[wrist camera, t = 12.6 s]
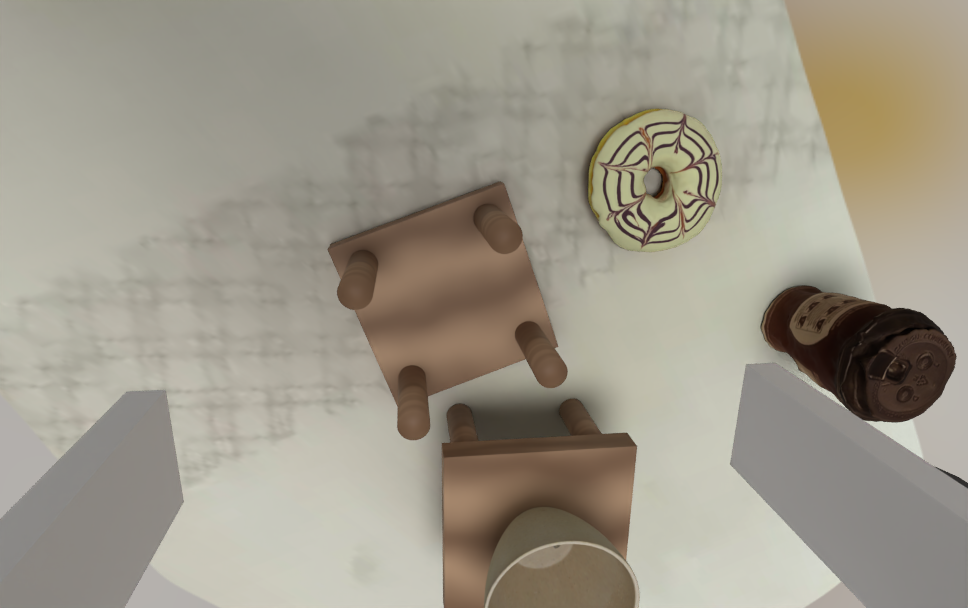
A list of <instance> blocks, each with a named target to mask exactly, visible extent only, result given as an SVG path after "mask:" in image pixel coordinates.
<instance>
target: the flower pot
mask: <svg viewBox="0 0 968 608" xmlns="http://www.w3.org/2000/svg"><path fill="white" fill-rule="evenodd" d="M639 598H640V596H639V587H638V583H637V579H636V577H635V575H634V573H633V571H632V569H631V567H630V566H629V564H628V563H627V561H626V560H625V559H624V557H623V556H622V555H621V553H620V552H619V551H618V550H617V549H616V547H615V546H614V545H613V544H612V543H611V542H610V541H609V540H608V539H607V538H606V537H605V536H604V535H603V534H601V533H600V532H599V531H598V530H597V529H595V528H594V527H593V526H591V525H590V524H589V523H587V522H586V521H584V520H582V519H581V518H579V517H577V516H575V515H573V514H571V513H569V512H566V511H563V510H561V509H557V508H552V507H535V508H532V509H529V510H527V511H525V512H523V513H521V514H520V515H518V516H517V517H516V518H515V519H514V520H513V521H512V522H511V523H510V525H509V526H508V527H507V529H506V530H505V532H504V533H503V535H502V536H501V538H500V540H499V542H498V544H497V546H496V549H495V551H494V554H493V556H492V559H491V562H490V566H489V570H488V574H487V580H486V586H485V596H484V608H638V607H639Z"/></svg>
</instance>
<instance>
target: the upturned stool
mask: <svg viewBox="0 0 968 608" xmlns="http://www.w3.org/2000/svg"><path fill="white" fill-rule="evenodd" d="M328 252H329V254H330V256H331V258H332V261H333V263H334V265H335V267H336V270H337V272H338V274H339V276H340V278H341V281H340V284H339V286H338V290H337V295H338V299H339V301H340V302H341V303H342V304H343V305H344V306H345V307H347V308H349V309H352V310H355V312H356V314H357V317H358V319H359V321H360V323H361V326H362V328H363V330H364V332H365V335H366V337H367V339H368V341H369V343H370V346H371V348H372V350H373V352H374V355H375V357H376V359H377V361H378V364H379V366H380V368H381V370H382V373H383V375H384V377H385V379H386V382H387V384H388V386H389V388H390V391H391V393H392V395H393V397H394V400H395V402H396V404H397V406H398V422H397V427H398V431H399V433H400V434H401V436H403V437H404V438H406V439H409V440H418V439H421V438H423V437H424V436H425V435H426V434H427V433H428V431H429V429H430V417H429V406H428V396H430V395H432V394H435V393H438V392H440V391H443V390H446V389H448V388H451V387H453V386H456V385H459V384H461V383H464V382H467V381H469V380H472V379H475V378H477V377H480V376H482V375H485V374H488V373H490V372H493V371H496V370H498V369H501V368H504V367H506V366H509V365H511V364H514V363H517V362H519V361H522V360H525V359H526V360H527V362H528V364H529V366H530V368H531V369H532V371H533V373H534V375H535V377H536V379H537V381H538V382H539V384H541V385H542V386H544V387H546V388H554V387H557V386H559V385H561V384H562V383H563V382H564V381H565V379H566V377H567V372H568V371H567V367H566V365H565V363H564V362H563V360H562V359H561V357H560V356H559V354H558V353H557V351H556V350H555V348H556V347H558V344H557V341H556V338H555V335H554V332H553V329H552V326H551V323H550V320H549V317H548V314H547V311H546V308H545V305H544V302H543V299H542V296H541V293H540V290H539V287H538V284H537V281H536V278H535V275H534V272H533V269H532V266H531V263H530V260H529V257H528V254H527V251H526V248H525V245H524V242H523V239H522V230H521V228H520V227H519V225H518V224H517V221H516V218H515V215H514V212H513V209H512V206H511V203H510V200H509V197H508V194H507V191H506V188H505V185H504V183H502V182H497V183H494V184H492V185H489V186H486V187H484V188H481V189H478V190H475V191H473V192H470V193H467V194H465V195H462V196H459V197H457V198H454V199H451V200H449V201H446V202H443V203H440V204H438V205H435V206H432V207H430V208H427V209H424V210H422V211H419V212H416V213H414V214H411V215H408V216H405V217H403V218H400V219H397V220H395V221H392V222H389V223H387V224H384V225H381V226H379V227H376V228H373V229H370V230H368V231H365V232H362V233H360V234H357V235H354V236H352V237H349V238H346V239H344V240H341V241H338V242H335V243H333V244H331V245H330V246H329V248H328Z"/></svg>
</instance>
